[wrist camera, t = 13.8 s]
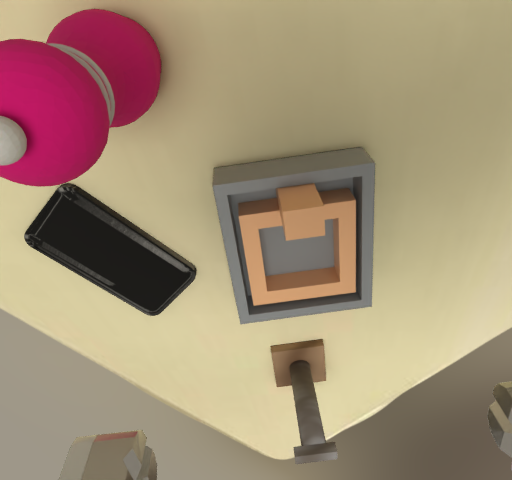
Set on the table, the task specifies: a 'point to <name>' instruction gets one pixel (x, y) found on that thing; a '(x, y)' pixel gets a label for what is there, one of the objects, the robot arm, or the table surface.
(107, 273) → the phone
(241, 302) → the tray
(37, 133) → the pepper mill
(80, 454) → the robot arm
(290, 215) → the ring
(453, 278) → the table surface
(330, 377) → the table surface
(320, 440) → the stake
